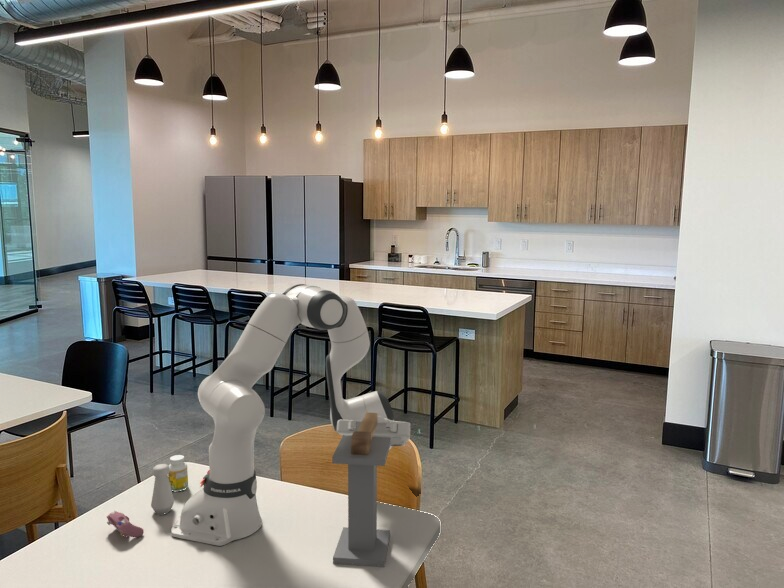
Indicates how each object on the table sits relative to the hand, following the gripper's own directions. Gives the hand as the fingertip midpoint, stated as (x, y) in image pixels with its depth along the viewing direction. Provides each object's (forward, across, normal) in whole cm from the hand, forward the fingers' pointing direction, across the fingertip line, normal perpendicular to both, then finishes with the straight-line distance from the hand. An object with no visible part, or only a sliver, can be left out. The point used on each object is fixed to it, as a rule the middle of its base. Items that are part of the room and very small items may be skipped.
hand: (370, 424), depth 149 cm
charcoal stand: (-1, 0, +30) cm, 30 cm away
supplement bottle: (-22, -59, +18) cm, 65 cm away
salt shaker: (-11, -57, +24) cm, 63 cm away
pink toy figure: (-1, -61, +30) cm, 68 cm away
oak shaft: (+8, 0, +5) cm, 9 cm away
